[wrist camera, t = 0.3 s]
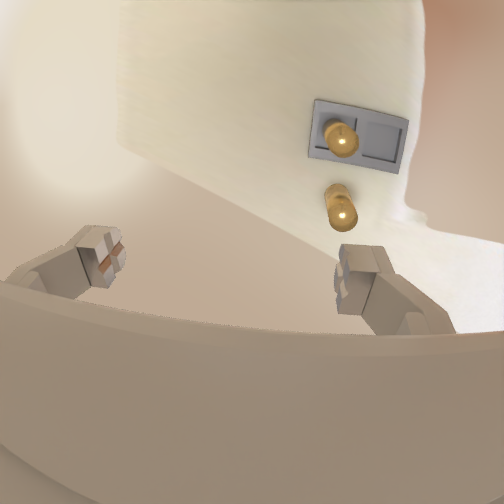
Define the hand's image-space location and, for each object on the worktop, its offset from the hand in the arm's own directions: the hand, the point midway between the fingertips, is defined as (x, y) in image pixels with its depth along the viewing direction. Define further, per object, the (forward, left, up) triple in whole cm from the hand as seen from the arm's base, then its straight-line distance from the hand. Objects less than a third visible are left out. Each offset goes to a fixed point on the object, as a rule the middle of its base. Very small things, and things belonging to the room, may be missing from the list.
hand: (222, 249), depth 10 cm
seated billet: (+2, +9, -47) cm, 48 cm away
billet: (+15, +12, -48) cm, 51 cm away
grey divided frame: (+2, +14, -48) cm, 50 cm away
